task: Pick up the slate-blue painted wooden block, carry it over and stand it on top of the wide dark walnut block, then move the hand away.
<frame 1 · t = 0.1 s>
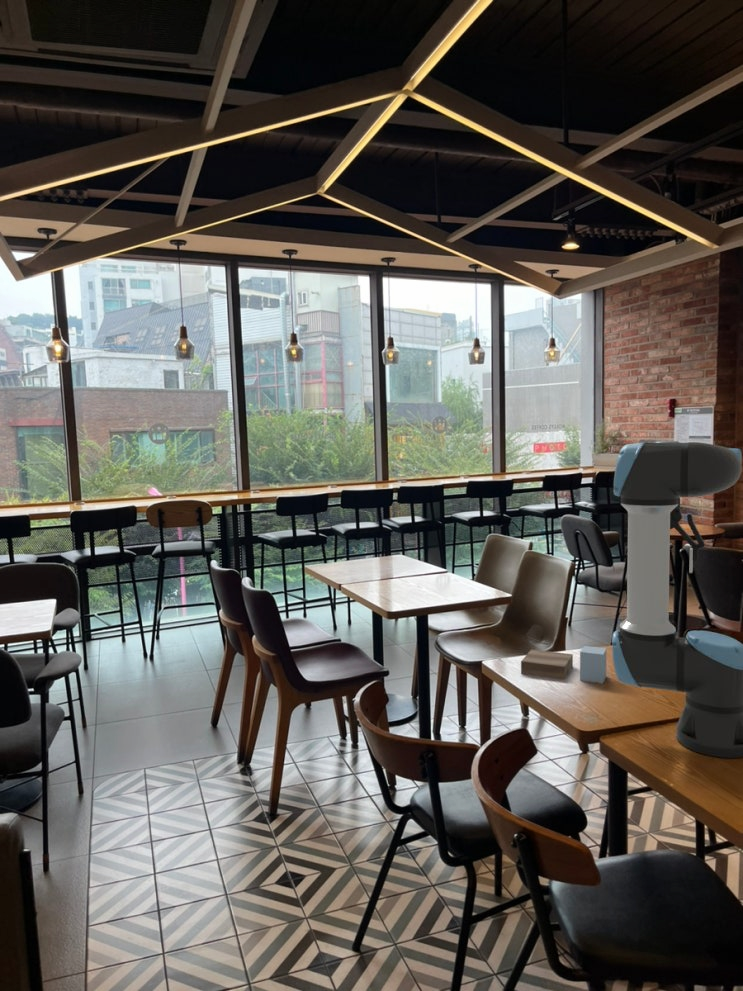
hand: (664, 570, 197), 28 cm above the table, tool pointing down, fingers open, 13 cm apart
slate block: (593, 678, 190), on the table
walnut block: (547, 671, 198), on the table
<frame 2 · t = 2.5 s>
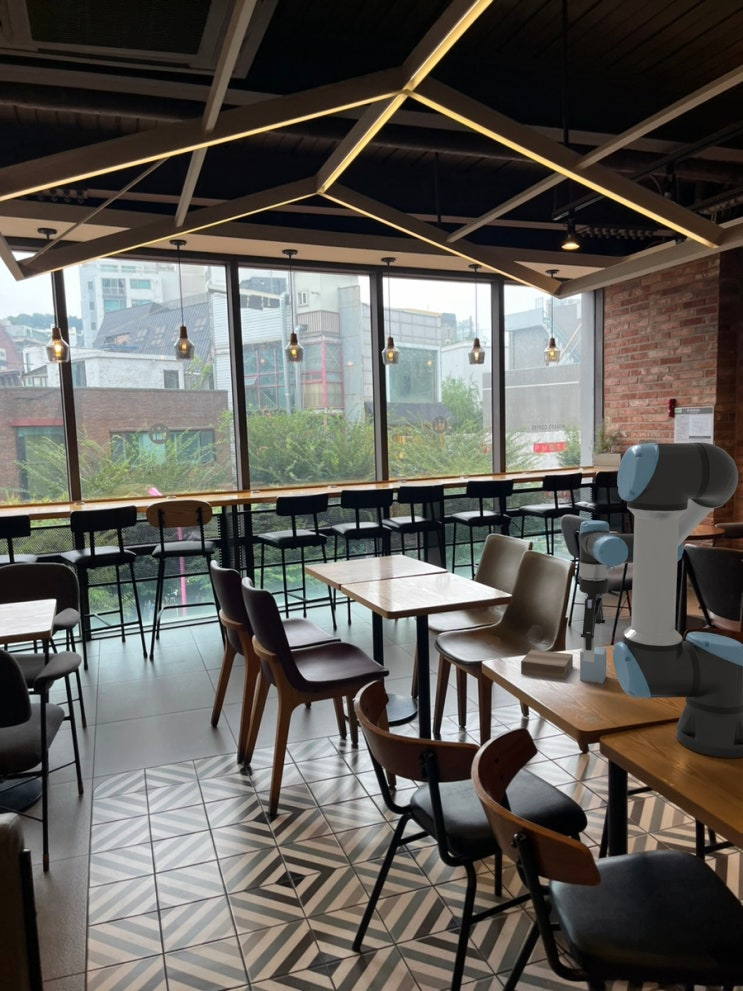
hand: (592, 653, 190), 7 cm above the table, tool pointing down, fingers open, 13 cm apart
nothing on the table moved.
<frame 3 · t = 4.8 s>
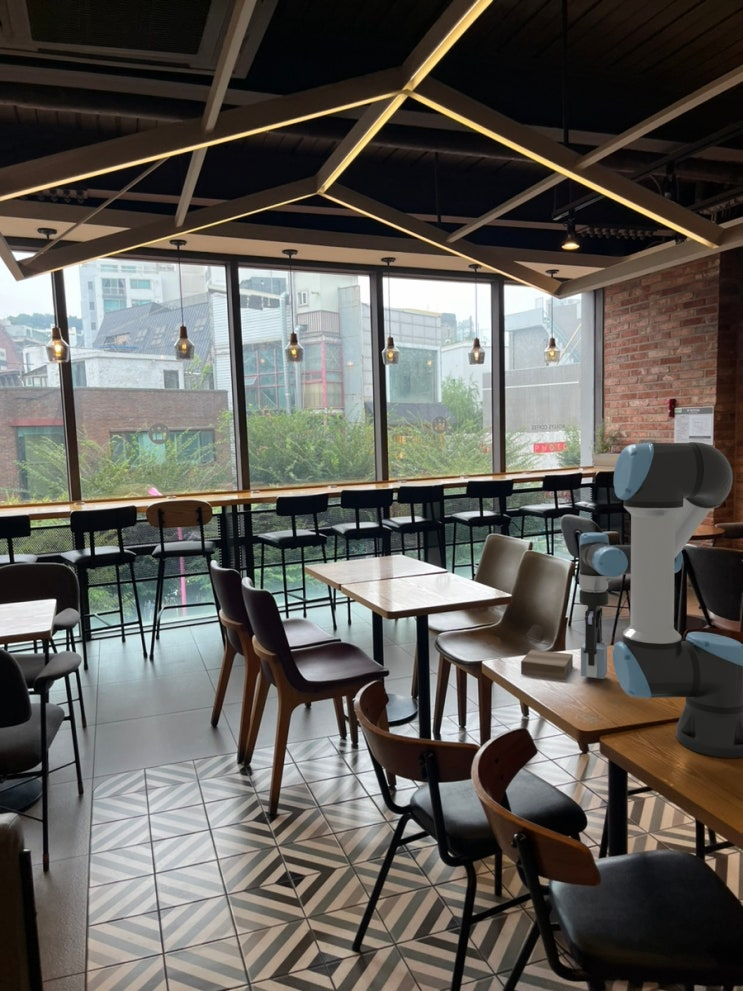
hand: (593, 672, 190), 2 cm above the table, tool pointing down, fingers closed on slate block, 6 cm apart
slate block: (594, 674, 190), point 1 cm above the table, touching gripper
everything else where it was.
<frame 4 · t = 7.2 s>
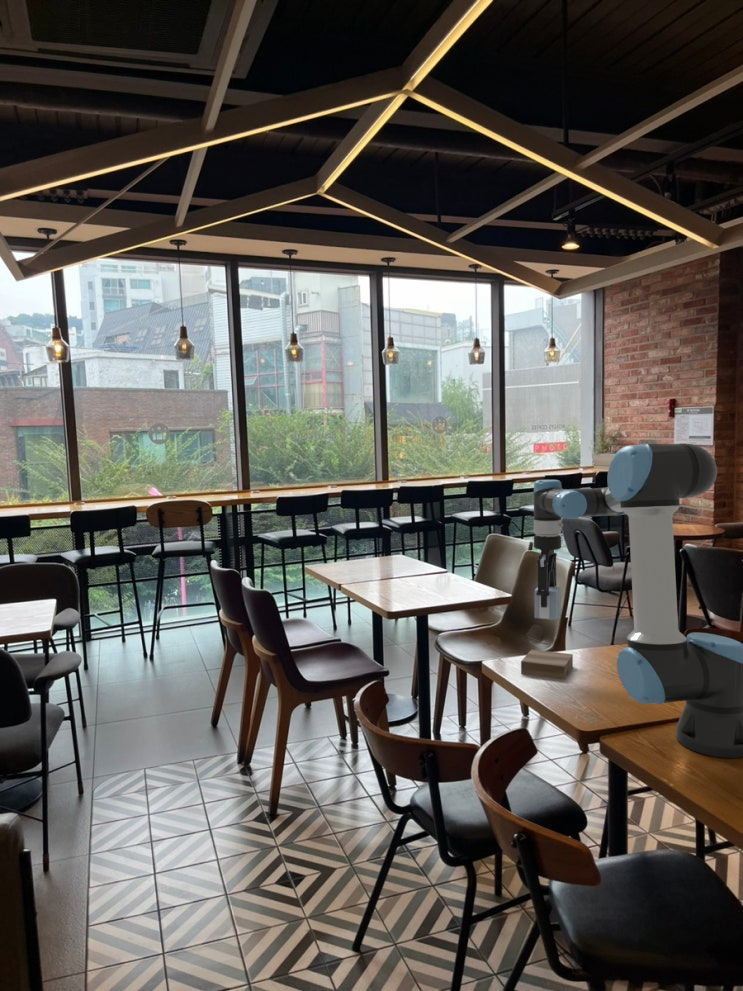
hand: (547, 615, 196), 16 cm above the table, tool pointing down, fingers closed on slate block, 6 cm apart
slate block: (547, 616, 196), point 16 cm above the table, touching gripper
everything else where it was.
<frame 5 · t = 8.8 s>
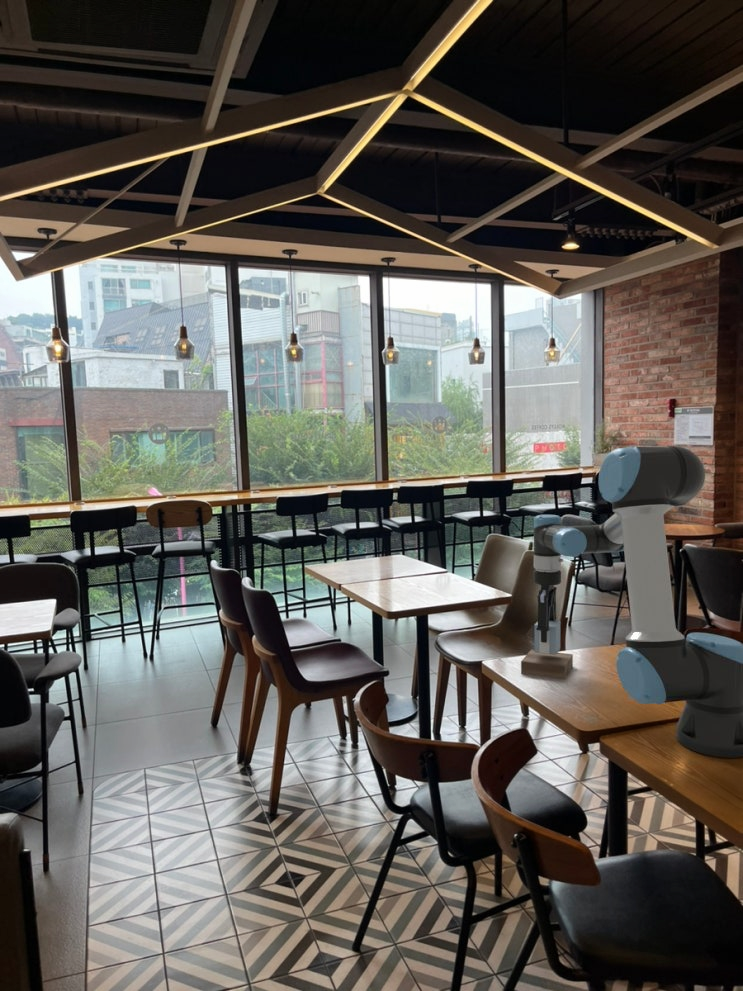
hand: (547, 649, 197), 6 cm above the table, tool pointing down, fingers closed on slate block, 6 cm apart
slate block: (547, 650, 197), point 6 cm above the table, touching gripper
everything else where it was.
when the fingers open (5 cm above the table, at t = 9.7 s): slate block drops 1 cm, point 4 cm above the table.
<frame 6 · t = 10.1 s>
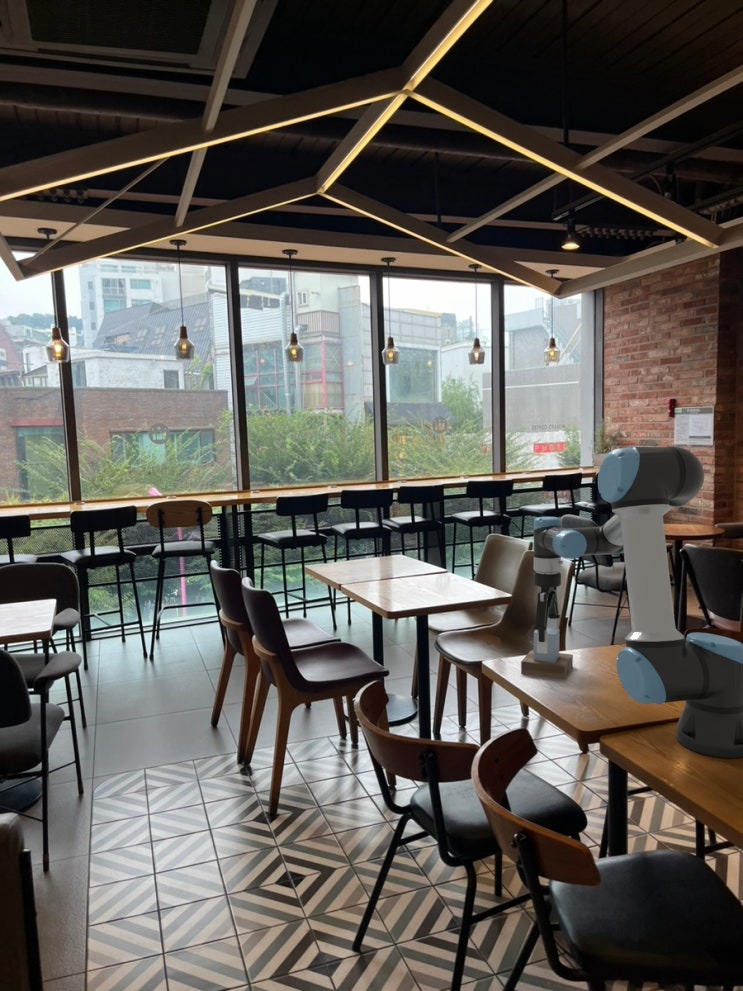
hand: (547, 646, 197), 7 cm above the table, tool pointing down, fingers open, 12 cm apart
slate block: (546, 658, 197), point 4 cm above the table
everything else where it was.
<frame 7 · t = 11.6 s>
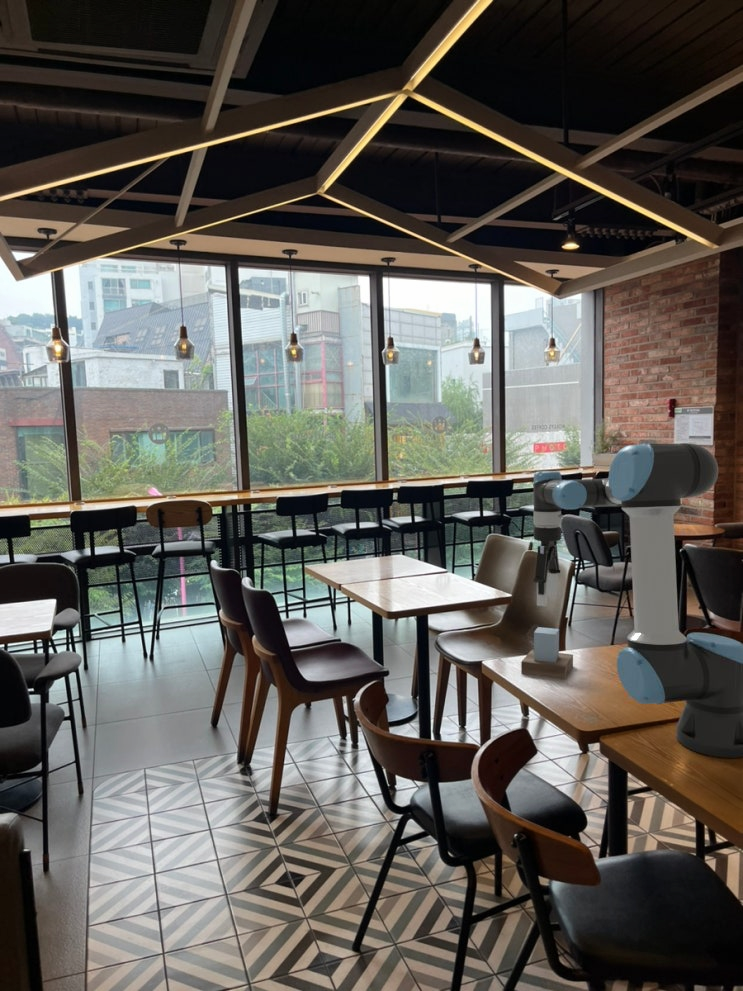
hand: (547, 600, 196), 20 cm above the table, tool pointing down, fingers open, 13 cm apart
slate block: (546, 658, 197), point 3 cm above the table, touching walnut block
walnut block: (547, 671, 198), on the table, touching slate block
everything else where it was.
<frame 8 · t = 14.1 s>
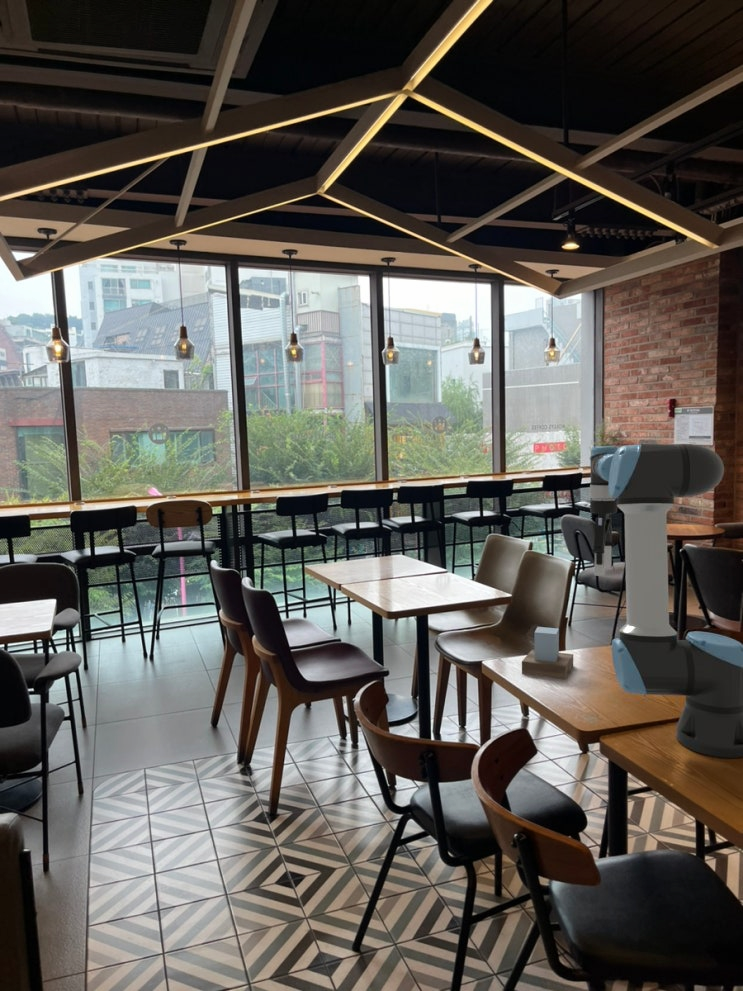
hand: (603, 571, 203), 27 cm above the table, tool pointing down, fingers open, 13 cm apart
nothing on the table moved.
at the end: slate block inside the target area on the walnut block (0.3 cm from its centre), point 4.0 cm above the walnut block's base; slate block tilted 0°; the gripper is holding nothing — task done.
